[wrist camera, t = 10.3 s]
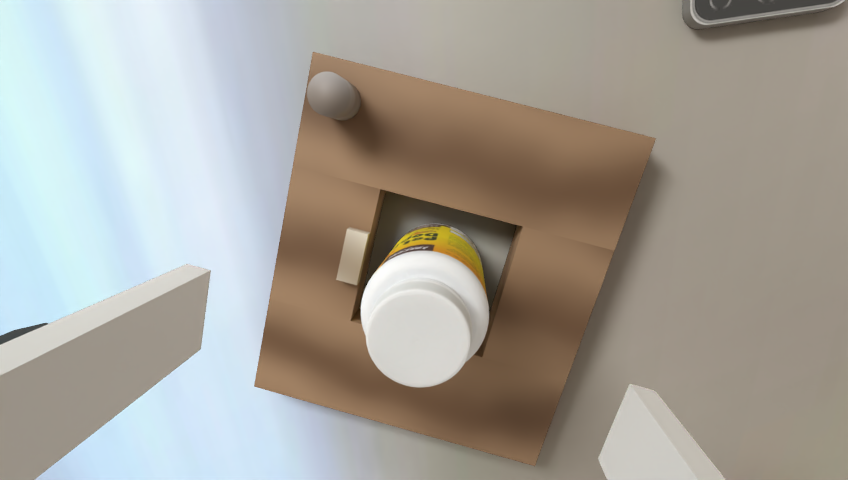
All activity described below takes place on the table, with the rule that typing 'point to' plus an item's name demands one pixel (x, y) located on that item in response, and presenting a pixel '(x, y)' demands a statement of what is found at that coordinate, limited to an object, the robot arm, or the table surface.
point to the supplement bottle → (426, 307)
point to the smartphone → (747, 10)
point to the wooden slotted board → (460, 189)
